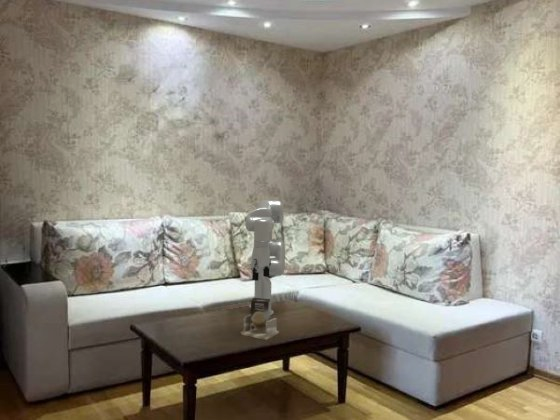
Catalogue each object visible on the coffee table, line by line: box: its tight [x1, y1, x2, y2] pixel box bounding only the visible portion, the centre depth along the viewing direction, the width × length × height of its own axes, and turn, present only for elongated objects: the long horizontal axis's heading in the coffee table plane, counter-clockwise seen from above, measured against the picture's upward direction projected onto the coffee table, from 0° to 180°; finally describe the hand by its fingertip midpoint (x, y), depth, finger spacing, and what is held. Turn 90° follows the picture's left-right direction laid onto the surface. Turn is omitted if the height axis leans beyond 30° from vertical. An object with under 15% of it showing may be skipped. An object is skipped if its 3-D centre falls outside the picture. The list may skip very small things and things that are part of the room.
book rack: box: [240, 313, 280, 341], centre depth 252 cm, size 15×12×8 cm
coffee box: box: [250, 297, 271, 334], centre depth 252 cm, size 9×6×16 cm
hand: (260, 278), depth 250 cm, fingers open, 9 cm apart
